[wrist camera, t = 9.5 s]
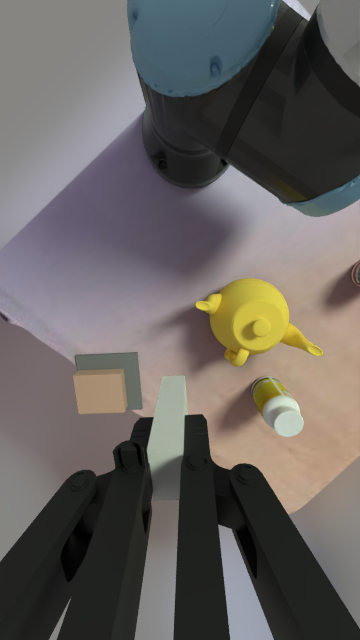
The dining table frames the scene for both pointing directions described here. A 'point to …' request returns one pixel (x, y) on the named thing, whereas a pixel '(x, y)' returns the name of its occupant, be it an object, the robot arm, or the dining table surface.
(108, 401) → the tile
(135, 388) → the mat
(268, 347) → the teapot
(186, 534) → the robot arm
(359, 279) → the pill bottle
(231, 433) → the dining table surface
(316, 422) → the dining table surface
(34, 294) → the dining table surface
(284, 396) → the pill bottle
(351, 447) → the dining table surface
